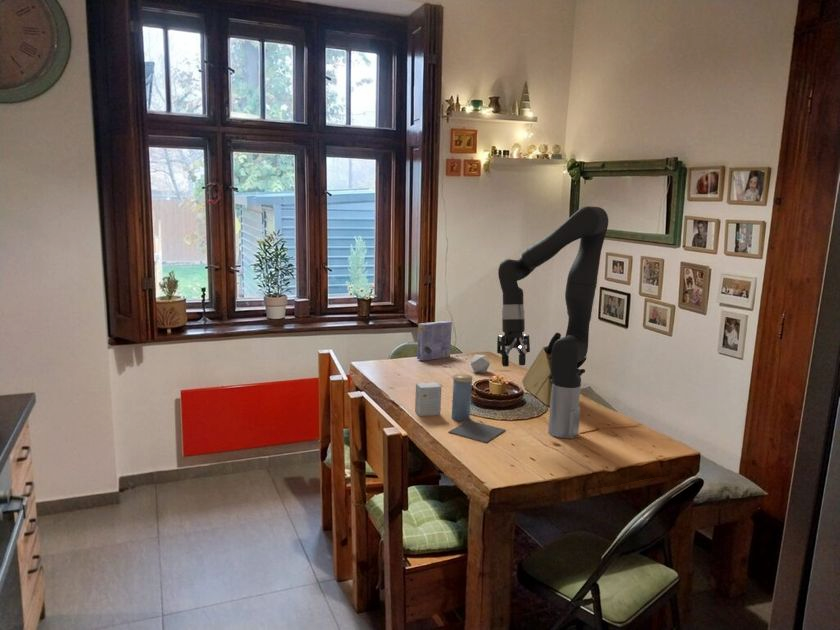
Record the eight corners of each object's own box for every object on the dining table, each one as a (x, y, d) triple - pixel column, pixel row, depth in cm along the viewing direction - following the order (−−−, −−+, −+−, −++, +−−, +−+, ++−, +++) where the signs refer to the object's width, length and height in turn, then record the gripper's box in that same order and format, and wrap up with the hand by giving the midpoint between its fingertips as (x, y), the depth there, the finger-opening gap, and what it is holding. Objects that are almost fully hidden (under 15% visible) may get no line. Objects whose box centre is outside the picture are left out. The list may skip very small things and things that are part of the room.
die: (483, 377, 277) (495, 359, 279) (467, 366, 278) (479, 348, 280) (481, 378, 285) (492, 361, 287) (465, 368, 286) (476, 350, 288)
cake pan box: (445, 354, 313) (447, 319, 310) (452, 356, 309) (454, 321, 306) (415, 359, 301) (417, 323, 298) (422, 361, 297) (424, 325, 294)
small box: (435, 409, 229) (436, 381, 228) (440, 414, 224) (442, 386, 222) (414, 411, 227) (415, 383, 225) (419, 416, 222) (420, 387, 220)
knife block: (556, 415, 229) (563, 332, 224) (521, 386, 263) (526, 314, 258) (584, 414, 232) (592, 332, 226) (546, 386, 266) (552, 314, 260)
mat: (505, 430, 211) (505, 429, 211) (486, 443, 200) (486, 441, 200) (469, 421, 219) (469, 420, 219) (448, 432, 207) (448, 431, 207)
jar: (473, 417, 223) (475, 376, 220) (464, 422, 217) (466, 380, 214) (457, 413, 226) (459, 372, 223) (447, 418, 221) (449, 376, 218)
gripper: (507, 318, 207) (508, 367, 206) (535, 318, 216) (536, 365, 216) (490, 318, 212) (491, 366, 212) (518, 318, 222) (519, 364, 221)
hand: (514, 365), depth 214 cm, fingers open, 8 cm apart
